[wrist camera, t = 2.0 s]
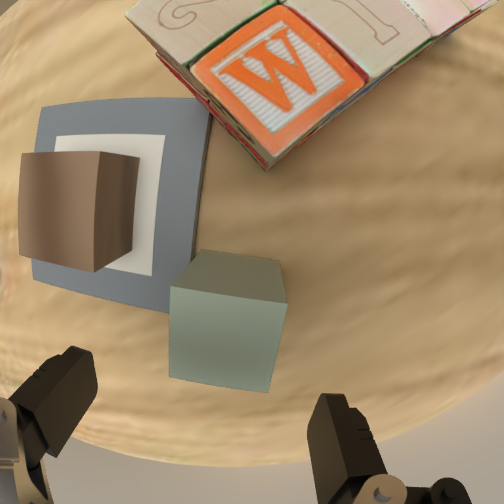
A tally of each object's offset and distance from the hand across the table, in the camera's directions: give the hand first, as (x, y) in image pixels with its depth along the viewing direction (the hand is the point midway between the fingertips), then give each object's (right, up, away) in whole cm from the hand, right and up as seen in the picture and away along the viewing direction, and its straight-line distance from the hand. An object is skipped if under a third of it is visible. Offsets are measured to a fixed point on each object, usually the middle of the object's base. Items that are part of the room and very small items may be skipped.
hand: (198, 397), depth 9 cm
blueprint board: (-9, +8, +9) cm, 15 cm away
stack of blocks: (+9, +19, +7) cm, 22 cm away
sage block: (+1, +2, +11) cm, 11 cm away
